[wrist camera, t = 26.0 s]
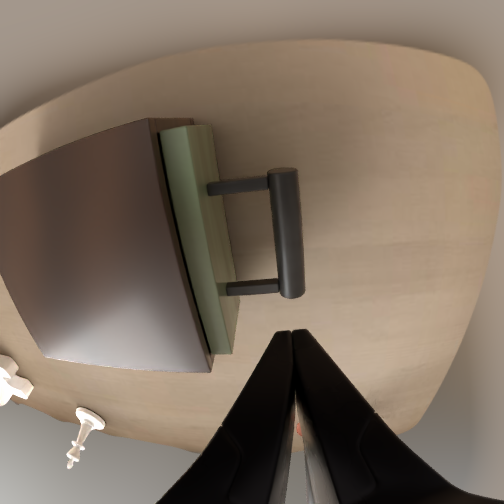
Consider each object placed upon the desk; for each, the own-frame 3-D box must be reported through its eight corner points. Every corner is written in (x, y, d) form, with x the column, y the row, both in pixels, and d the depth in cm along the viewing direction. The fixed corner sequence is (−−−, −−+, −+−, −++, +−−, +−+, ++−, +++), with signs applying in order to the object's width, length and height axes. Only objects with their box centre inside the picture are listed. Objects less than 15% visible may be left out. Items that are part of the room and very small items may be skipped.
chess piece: (79, 416, 33) (57, 464, 24) (74, 402, 31) (49, 454, 22) (106, 429, 33) (87, 480, 24) (104, 416, 31) (81, 472, 22)
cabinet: (193, 118, 15) (147, 117, 9) (226, 302, 21) (211, 373, 15) (37, 166, 17) (-27, 191, 11) (83, 306, 22) (44, 357, 16)
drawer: (286, 114, 14) (295, 110, 10) (301, 296, 19) (309, 349, 15) (49, 168, 16) (-1, 187, 11) (94, 306, 21) (64, 346, 16)
